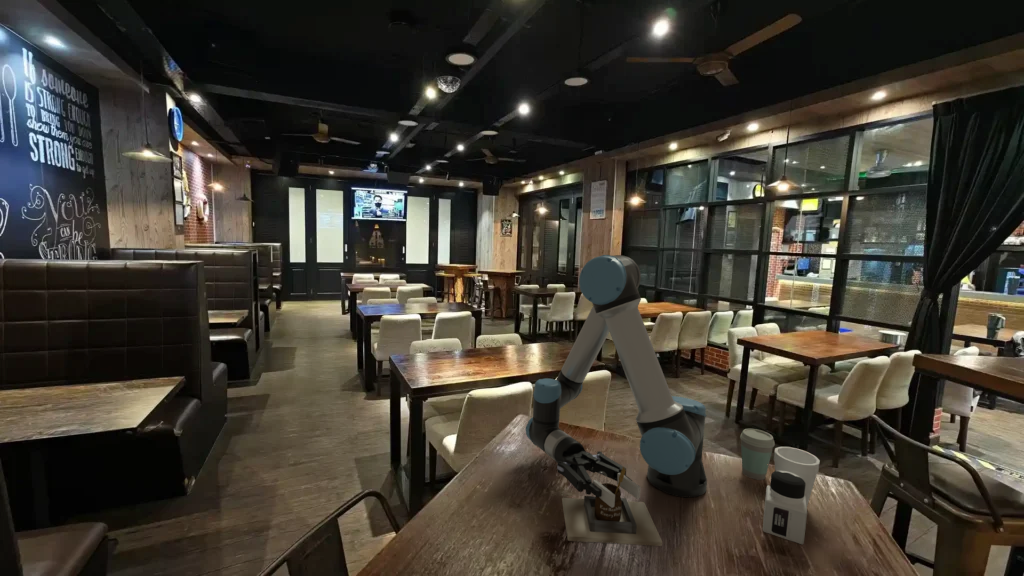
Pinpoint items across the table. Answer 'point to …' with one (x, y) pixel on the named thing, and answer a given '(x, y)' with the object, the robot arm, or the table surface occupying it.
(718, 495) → the table surface
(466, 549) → the table surface
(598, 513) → the utensil holder
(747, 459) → the coffee cup
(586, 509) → the collar board
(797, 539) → the container
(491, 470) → the table surface
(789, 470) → the foam cup
